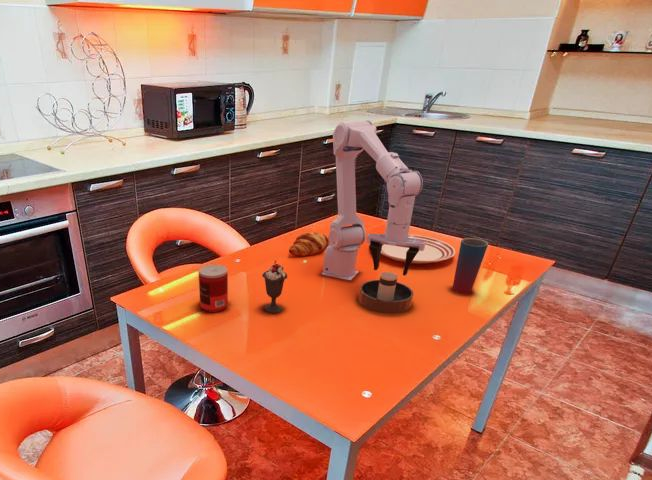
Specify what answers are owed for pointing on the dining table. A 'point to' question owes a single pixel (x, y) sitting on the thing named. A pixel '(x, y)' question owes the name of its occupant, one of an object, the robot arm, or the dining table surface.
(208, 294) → the canned food
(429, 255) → the dinner plate
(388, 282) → the beige cylinder
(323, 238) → the croissant
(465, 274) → the cup
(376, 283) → the pan
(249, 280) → the dining table surface
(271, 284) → the sundae
